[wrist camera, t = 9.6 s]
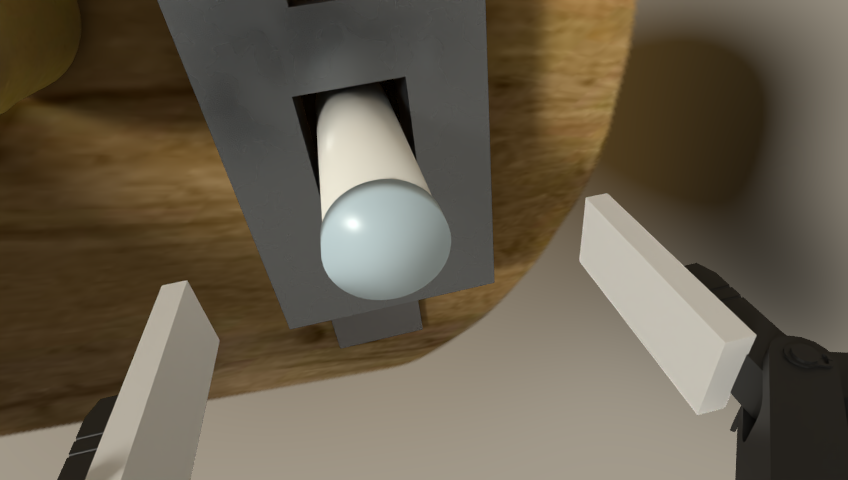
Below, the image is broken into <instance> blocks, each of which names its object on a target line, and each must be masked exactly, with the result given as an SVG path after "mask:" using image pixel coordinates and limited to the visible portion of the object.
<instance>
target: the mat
mask: <svg viewBox="0 0 848 480" xmlns="http://www.w3.org/2000/svg"><path fill="white" fill-rule="evenodd" d="M331 321H332V324H333V327H334V330H335V333H336V336H337V339H338V342H339V345H340V348H345V347H349V346H354V345H358V344H362V343H366V342H371V341H375V340H379V339H383V338H388V337H392V336H396V335H400V334H405V333H409V332H413V331H417V330H422V329H423V328H422V321H421V315H420V309H419V303H418V300H416V301H412V302H408V303H403V304H399V305H395V306H390V307H386V308H382V309H377V310H373V311H368V312H364V313H360V314H355V315H351V316H347V317H342V318H338V319H333V320H331Z"/></svg>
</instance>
